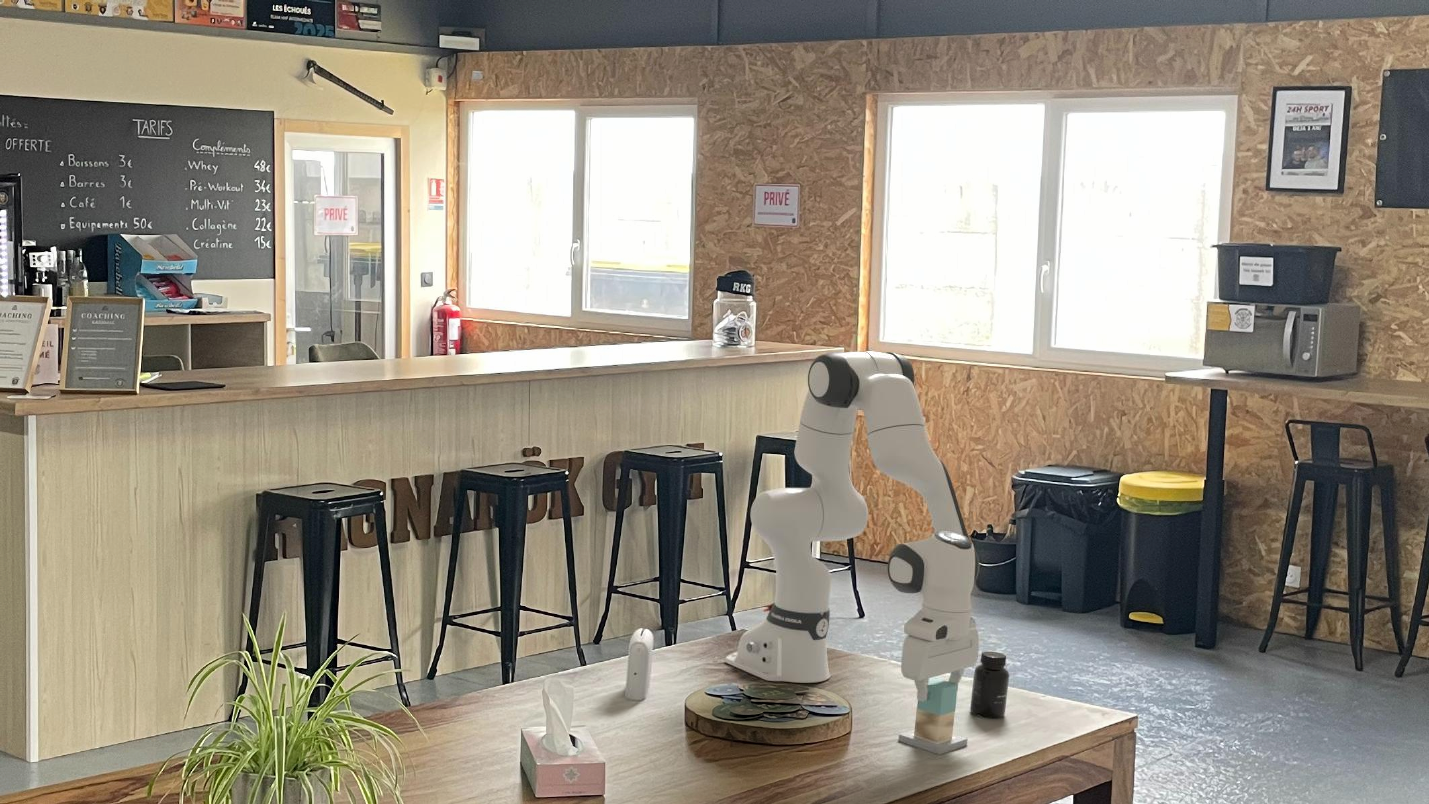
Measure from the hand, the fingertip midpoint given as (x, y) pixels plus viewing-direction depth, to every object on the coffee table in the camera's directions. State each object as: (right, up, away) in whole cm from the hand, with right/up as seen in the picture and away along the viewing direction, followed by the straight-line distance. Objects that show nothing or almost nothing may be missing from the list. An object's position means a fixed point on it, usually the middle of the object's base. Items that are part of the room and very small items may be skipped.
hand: (937, 696), depth 289 cm
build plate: (-1, -9, +1) cm, 9 cm away
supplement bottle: (+13, -8, +22) cm, 27 cm away
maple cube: (-1, -8, +1) cm, 8 cm away
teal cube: (0, -3, 0) cm, 3 cm away
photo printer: (-56, -3, +16) cm, 58 cm away
